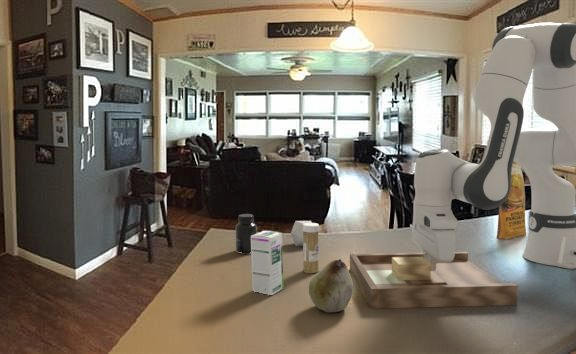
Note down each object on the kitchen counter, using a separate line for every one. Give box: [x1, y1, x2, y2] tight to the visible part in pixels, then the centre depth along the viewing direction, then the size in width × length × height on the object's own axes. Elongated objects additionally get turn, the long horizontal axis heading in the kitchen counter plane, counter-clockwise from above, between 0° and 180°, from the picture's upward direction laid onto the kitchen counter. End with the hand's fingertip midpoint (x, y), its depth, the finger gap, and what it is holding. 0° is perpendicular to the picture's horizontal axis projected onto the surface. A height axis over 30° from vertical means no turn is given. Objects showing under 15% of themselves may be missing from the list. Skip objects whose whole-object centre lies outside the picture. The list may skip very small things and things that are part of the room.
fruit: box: [308, 258, 354, 313], centre depth 100 cm, size 10×9×12 cm
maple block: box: [392, 257, 431, 280], centre depth 113 cm, size 8×6×4 cm
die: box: [290, 220, 313, 247], centre depth 153 cm, size 8×9×10 cm
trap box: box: [349, 251, 519, 310], centre depth 114 cm, size 33×27×4 cm
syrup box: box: [250, 230, 284, 296], centre depth 111 cm, size 6×6×14 cm
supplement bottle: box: [235, 213, 258, 253], centre depth 145 cm, size 7×7×12 cm
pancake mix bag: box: [496, 161, 527, 240], centre depth 162 cm, size 7×19×28 cm, turn 123°
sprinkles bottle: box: [302, 222, 320, 274], centre depth 125 cm, size 5×5×14 cm
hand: (430, 269), depth 113 cm, fingers closed
